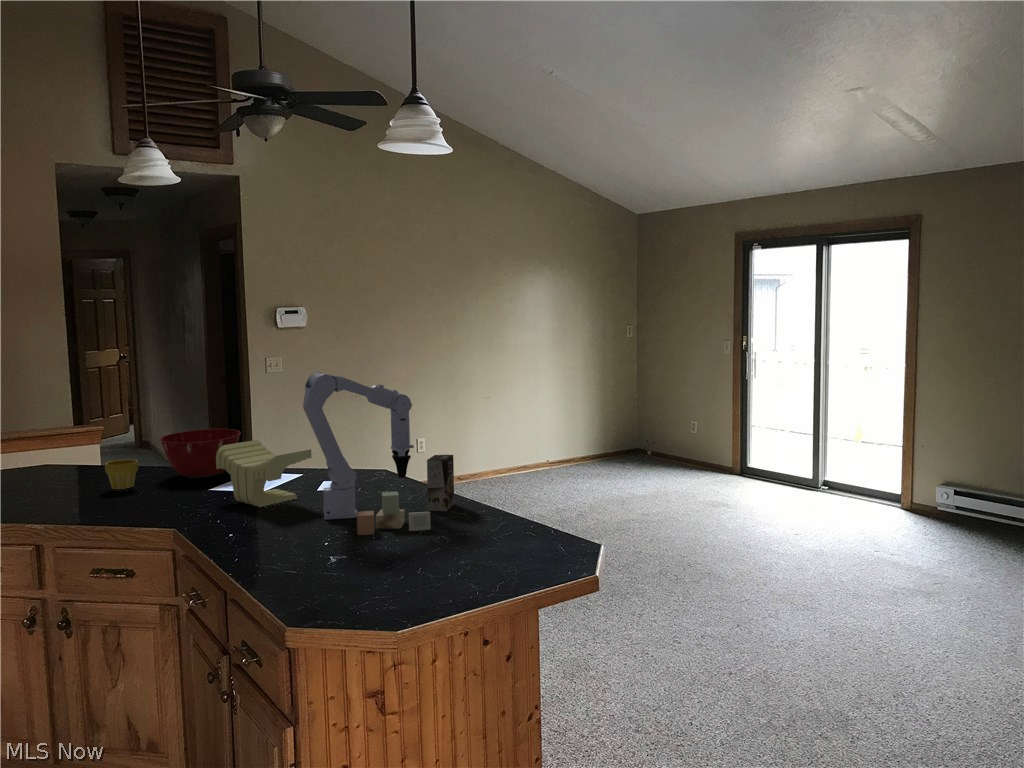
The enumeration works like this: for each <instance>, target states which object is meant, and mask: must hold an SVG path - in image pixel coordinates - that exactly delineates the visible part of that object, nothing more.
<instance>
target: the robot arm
mask: <svg viewBox="0 0 1024 768" xmlns="http://www.w3.org/2000/svg"><path fill="white" fill-rule="evenodd" d="M304 390H305V391H304V398H303V402H302V408H303V410H304V413H305V415H306V417H307V419H308V422H309V424H310V427H311V429H312V430H313V432H314V435H315V438H316V440H317V442H318V444H319V446H320V449H321V450H322V453H323V456H324V458H325V460H326V461H325V462H326V466H327V477H328V478H329V480H330V481H331V483H330V485H329V486H328V487H324V488H323V507H322V508H323V509H322V511H323V514H324V515H323V516H324V517H323V519H324V520H334V519H335V520H340V519H355V518H356V519H357V512H358V509H356V493H355V492H356V491H355V490H356V489H355V484H356V482H357V473H356V471H355V470H354V469H353V468H352V467H350V465H349V462H348V461H347V459H346V458H345V457H344V455H343V452H342V451H341V448H340V446H339V444H338V442H337V440H336V437H335V435H334V433H333V430H332V428H331V425H330V423H329V421H328V419H327V416H326V414H325V412H324V410H323V407H324V405H325V403H326V402H327V399H329V398H330V397H331V396H332V395H333V393H334V392H337V393H339V392H342V391H347V392H350V393H353V394H357V395H360V396H364V397H366V399H367V401H368V402H369V403H371V404H373V405H376V406H379V407H382V408H385V409H389V410H390V433H391V434H390V435H391V442H390V443H391V446H390V449H391V452H392V454H391V457H392V460H393V461H394V463H395V466H396V471H397V476H398V478H399V479H402V478H406V477H407V472H408V471H407V470H408V465H409V462H410V459H411V457H412V456H411V455H410V454H409V453H410V449H414V448H415V446H414V444H411V435H410V434H411V433H410V411H411V409H412V406H413V403H412V401H411V399H410V397H409V396H407V395H406V394H403V393H399V392H398V390H397V389H393V390H392V389H389V388H386V387H385V386H384V385H383V384H381V383H380V384H379V383H378V384H374V385H372V386H367V385H364V384H361V383H360V382H356V381H353V380H351V379H349V378H346V377H343V376H339V375H334V374H328V373H327V374H326V373H323V372H320V371H317V372H313V373H312V374H311V375H309V377H308V379H306V382H305V384H304Z"/></svg>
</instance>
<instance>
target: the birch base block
mask: <svg viewBox="0 0 1024 768" xmlns="http://www.w3.org/2000/svg"><path fill="white" fill-rule="evenodd" d="M405 510H406V509H405V508H404V509H403V508H402V509H401V508H399V514H388V515H383V511H382V508H381V509H380V510H379V511H378V512H377V514H376V515H375V529H401V528H402V526H403V525H404V524H405V522H406V511H405Z"/></svg>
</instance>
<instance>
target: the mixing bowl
mask: <svg viewBox="0 0 1024 768" xmlns="http://www.w3.org/2000/svg"><path fill="white" fill-rule="evenodd" d="M240 435H241V431H239V430H237V429H230V428H205V429H203V428H202V429H193V430H185V431H179V432H175V433H170V434H166V435H163V436H161V437H160V438H159V441H160V443H161V445H162V447H163V451H164V454H165V456H166V458H167V459H168V461H169V463H170V465H171V466H172V468H173V469H174V470H175V472H176V473H177V474H179V475H180V476H182V475H183V476H182V477H184V476H190V477H191V476H192V477H193V476H207V475H216V474H220V473H222V474H223V473H225V472H227V471H226V469H221V468H220V469H216V453H217V451H218V450H219V448H220V447H222V446H224V445H228V444H235V443H239V440H240Z"/></svg>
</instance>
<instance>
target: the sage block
mask: <svg viewBox="0 0 1024 768" xmlns="http://www.w3.org/2000/svg"><path fill="white" fill-rule="evenodd" d="M399 495H400V494H399V492H398V491H382V492H381V503H382V504H381V505H382V508H381V509H382V511H383V515H388V514H399V509H400V496H399Z"/></svg>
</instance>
